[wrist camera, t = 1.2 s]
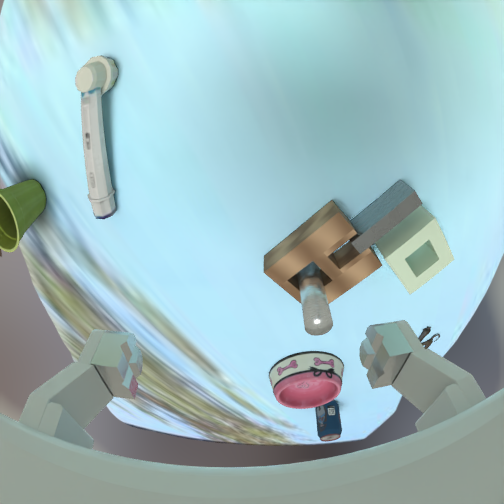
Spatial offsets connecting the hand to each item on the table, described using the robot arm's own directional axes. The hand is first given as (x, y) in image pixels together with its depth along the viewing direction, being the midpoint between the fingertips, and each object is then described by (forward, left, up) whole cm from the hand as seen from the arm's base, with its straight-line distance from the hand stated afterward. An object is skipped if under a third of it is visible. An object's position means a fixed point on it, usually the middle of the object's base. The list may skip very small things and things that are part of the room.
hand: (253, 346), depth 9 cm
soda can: (+34, +63, -32) cm, 79 cm away
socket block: (+4, +18, -32) cm, 37 cm away
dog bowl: (+28, +44, -32) cm, 61 cm away
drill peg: (+7, +18, -32) cm, 37 cm away
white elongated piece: (+14, -20, -32) cm, 40 cm away
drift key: (-7, +18, -32) cm, 37 cm away
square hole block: (-9, +27, -32) cm, 42 cm away
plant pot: (+33, -28, -32) cm, 54 cm away
